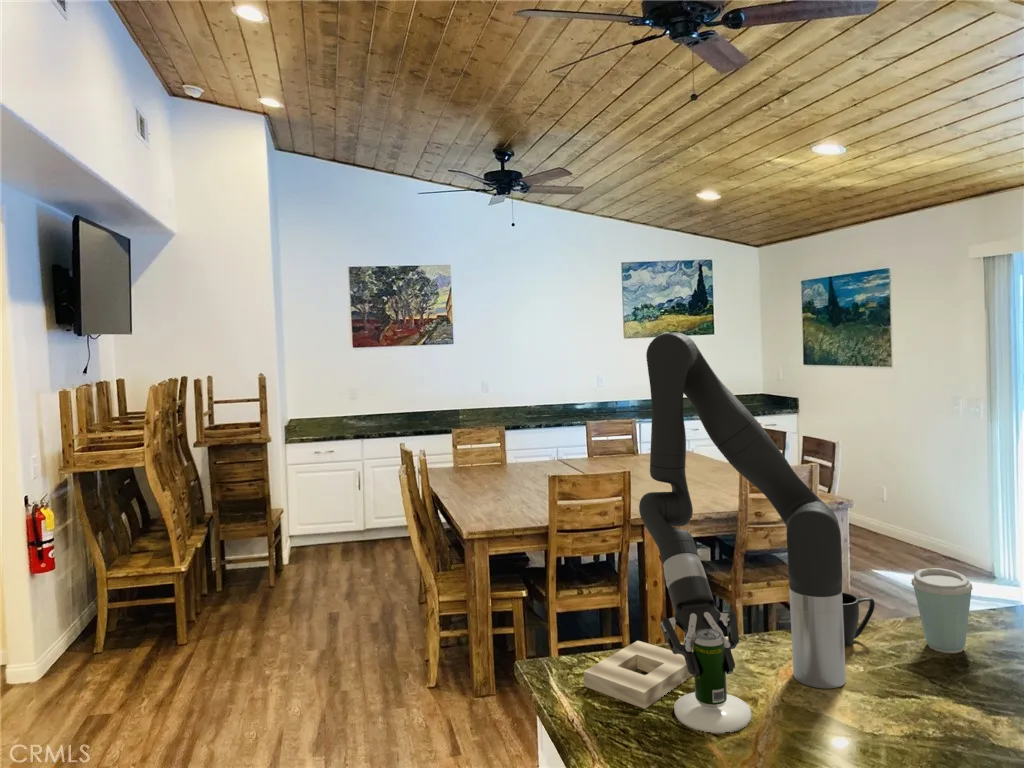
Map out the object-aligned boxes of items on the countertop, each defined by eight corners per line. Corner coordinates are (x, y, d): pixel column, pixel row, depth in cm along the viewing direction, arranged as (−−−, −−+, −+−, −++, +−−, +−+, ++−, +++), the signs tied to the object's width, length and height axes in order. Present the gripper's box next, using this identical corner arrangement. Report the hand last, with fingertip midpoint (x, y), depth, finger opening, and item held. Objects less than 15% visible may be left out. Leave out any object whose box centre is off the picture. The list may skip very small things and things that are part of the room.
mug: (886, 647, 146) (884, 601, 145) (828, 651, 146) (826, 605, 145) (865, 631, 154) (863, 588, 154) (810, 635, 154) (809, 592, 153)
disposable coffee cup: (987, 657, 139) (985, 581, 138) (932, 660, 139) (929, 584, 138) (954, 635, 149) (951, 565, 149) (903, 638, 149) (900, 568, 149)
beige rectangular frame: (638, 654, 149) (637, 640, 149) (697, 672, 139) (696, 658, 139) (584, 686, 137) (583, 671, 137) (644, 709, 127) (644, 692, 127)
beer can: (733, 703, 123) (730, 635, 122) (709, 712, 120) (706, 643, 120) (712, 690, 127) (709, 625, 127) (688, 698, 125) (685, 632, 125)
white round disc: (698, 688, 133) (698, 684, 133) (764, 710, 124) (764, 705, 124) (660, 716, 124) (659, 712, 124) (728, 742, 115) (728, 737, 115)
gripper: (653, 577, 130) (677, 670, 118) (729, 570, 131) (759, 662, 120) (646, 595, 135) (669, 686, 124) (719, 589, 137) (748, 678, 125)
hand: (713, 673), depth 122 cm, fingers closed on beer can, 5 cm apart
